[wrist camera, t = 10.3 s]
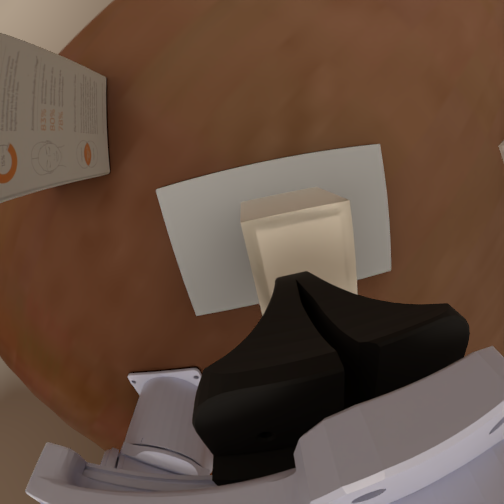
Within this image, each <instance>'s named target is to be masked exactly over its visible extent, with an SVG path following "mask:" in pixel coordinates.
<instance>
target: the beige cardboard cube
mask: <svg viewBox="0 0 504 504" xmlns="http://www.w3.org/2000/svg"><path fill="white" fill-rule="evenodd" d="M240 223H241V227H242V232H243V236H244V240H245V244H246V249H247V253H248V257H249V261H250V266H251V270H252V274H253V278H254V283H255V287H256V291H257V295H258V299H259V304H260V308H261V312H262V316H263V314H264V312H265V310H266V308H267V306H268V304H269V302H270V299H271V297H272V294H273V290H274V286H275V280H276V278H277V277H282V276H286V275H291V274H295V273H300V272H304V271H308V272H310V273H312V274H313V275H315V276H317V277H319V278H321V279H323V280H324V281H326V282H328V283H330V284H332V285H334V286H337V287H339V288H341V289H344V290H346V291H349V292H351V293H354V294H357V273H356V258H355V245H354V234H353V224H352V215H351V207H350V200H348V199H345V198H343V197H341V196H338V195H336V194H333V193H331V192H328V191H326V190H323V189H321V188H318V187H312V188H307V189H302V190H297V191H292V192H286V193H281V194H277V195H272V196H267V197H262V198H257V199H253V200H248V201H244V202H241V215H240Z"/></svg>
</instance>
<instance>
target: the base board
mask: <svg viewBox="0 0 504 504" xmlns="http://www.w3.org/2000/svg"><path fill="white" fill-rule="evenodd" d="M312 187H318V188H321V189H323V190H326V191H328V192H331V193H333V194H336V195H338V196H341V197H343V198H345V199H348V200H350V207H351V215H352V224H353V234H354V245H355V258H356V273H357V280H359V279H363V278H366V277H370V276H373V275H377V274H380V273H384V272H387V271H391V244H390V225H389V211H388V200H387V191H386V182H385V174H384V167H383V161H382V154H381V148H380V144H372V145H363V146H355V147H347V148H339V149H332V150H325V151H319V152H313V153H307V154H301V155H295V156H290V157H284V158H279V159H274V160H269V161H264V162H259V163H255V164H250V165H246V166H241V167H237V168H232V169H228V170H224V171H220V172H216V173H212V174H208V175H204V176H201V177H197V178H193V179H189V180H186V181H182V182H179V183H175V184H172V185H168V186H165V187H162V188H159V189H156V192H157V196H158V200H159V203H160V207H161V210H162V214H163V217H164V221H165V224H166V227H167V231H168V234H169V237H170V241H171V244H172V247H173V250H174V253H175V256H176V259H177V262H178V265H179V268H180V271H181V274H182V277H183V280H184V283H185V286H186V289H187V292H188V294H189V297H190V300H191V303H192V305H193V308H194V311H195V314H196V316H199V315H204V314H210V313H215V312H220V311H225V310H230V309H235V308H240V307H245V306H250V305H255V304H259V299H258V295H257V291H256V287H255V283H254V278H253V274H252V270H251V266H250V261H249V257H248V253H247V249H246V244H245V240H244V236H243V232H242V227H241V223H240V215H241V202H244V201H248V200H253V199H257V198H262V197H267V196H272V195H277V194H281V193H286V192H292V191H297V190H302V189H307V188H312Z"/></svg>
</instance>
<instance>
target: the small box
mask: <svg viewBox="0 0 504 504" xmlns="http://www.w3.org/2000/svg"><path fill="white" fill-rule="evenodd" d="M109 173H110V166H109V155H108V141H107V118H106V77H104V76H102V75H100V74H98V73H96V72H94V71H92V70H90V69H88V68H86V67H84V66H82V65H80V64H78V63H76V62H73V61H71V60H69V59H67V58H64V57H62V56H60V55H58V54H55V53H53V52H50V51H48V50H46V49H43V48H41V47H38V46H35V45H33V44H30V43H28V42H25V41H23V40H20V39H17V38H14V37H12V36H8V35H6V34H2V33H0V203H2V202H5V201H8V200H11V199H14V198H17V197H20V196H24V195H27V194H30V193H34V192H37V191H41V190H45V189H48V188H52V187H56V186H60V185H64V184H68V183H72V182H76V181H80V180H84V179H89V178H93V177H98V176H102V175H106V174H109Z"/></svg>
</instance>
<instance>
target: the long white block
mask: <svg viewBox="0 0 504 504" xmlns="http://www.w3.org/2000/svg"><path fill="white" fill-rule="evenodd" d="M499 149H500V152H501V155H502V159H503V162H504V140H503V142H502V143H501V144H500V145H499Z"/></svg>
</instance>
